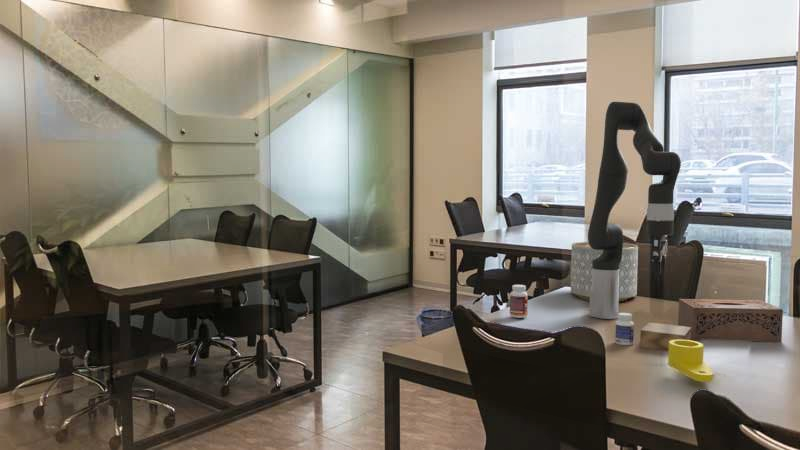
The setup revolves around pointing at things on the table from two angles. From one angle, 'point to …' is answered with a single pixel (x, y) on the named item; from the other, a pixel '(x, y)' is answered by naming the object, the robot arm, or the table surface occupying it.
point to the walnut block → (662, 335)
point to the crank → (689, 359)
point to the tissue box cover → (731, 319)
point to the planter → (583, 270)
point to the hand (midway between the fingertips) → (658, 272)
